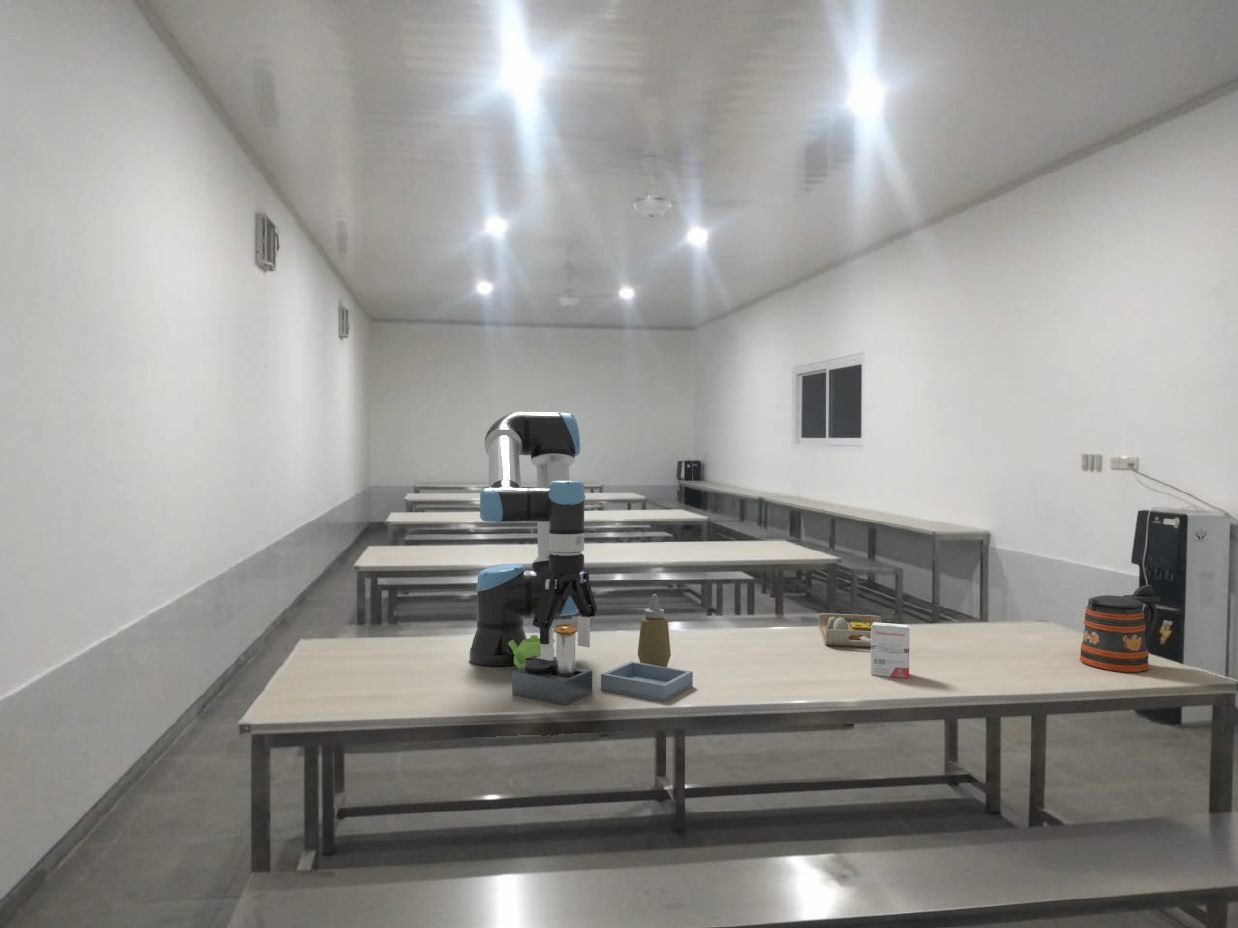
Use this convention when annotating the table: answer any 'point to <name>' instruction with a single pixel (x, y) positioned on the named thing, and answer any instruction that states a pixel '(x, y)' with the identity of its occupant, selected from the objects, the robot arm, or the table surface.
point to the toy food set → (846, 629)
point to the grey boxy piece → (550, 682)
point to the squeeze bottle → (654, 636)
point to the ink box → (890, 650)
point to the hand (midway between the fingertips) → (566, 652)
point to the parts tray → (647, 680)
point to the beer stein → (1119, 631)
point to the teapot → (526, 650)
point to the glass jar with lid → (565, 650)
